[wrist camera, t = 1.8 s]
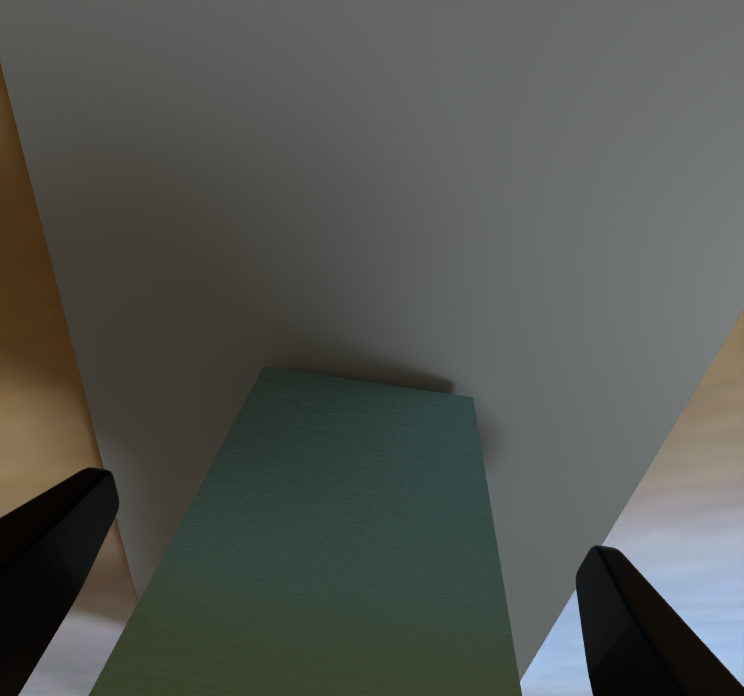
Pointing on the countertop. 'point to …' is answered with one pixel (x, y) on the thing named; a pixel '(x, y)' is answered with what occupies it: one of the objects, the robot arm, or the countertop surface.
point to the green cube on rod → (329, 556)
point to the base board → (392, 232)
